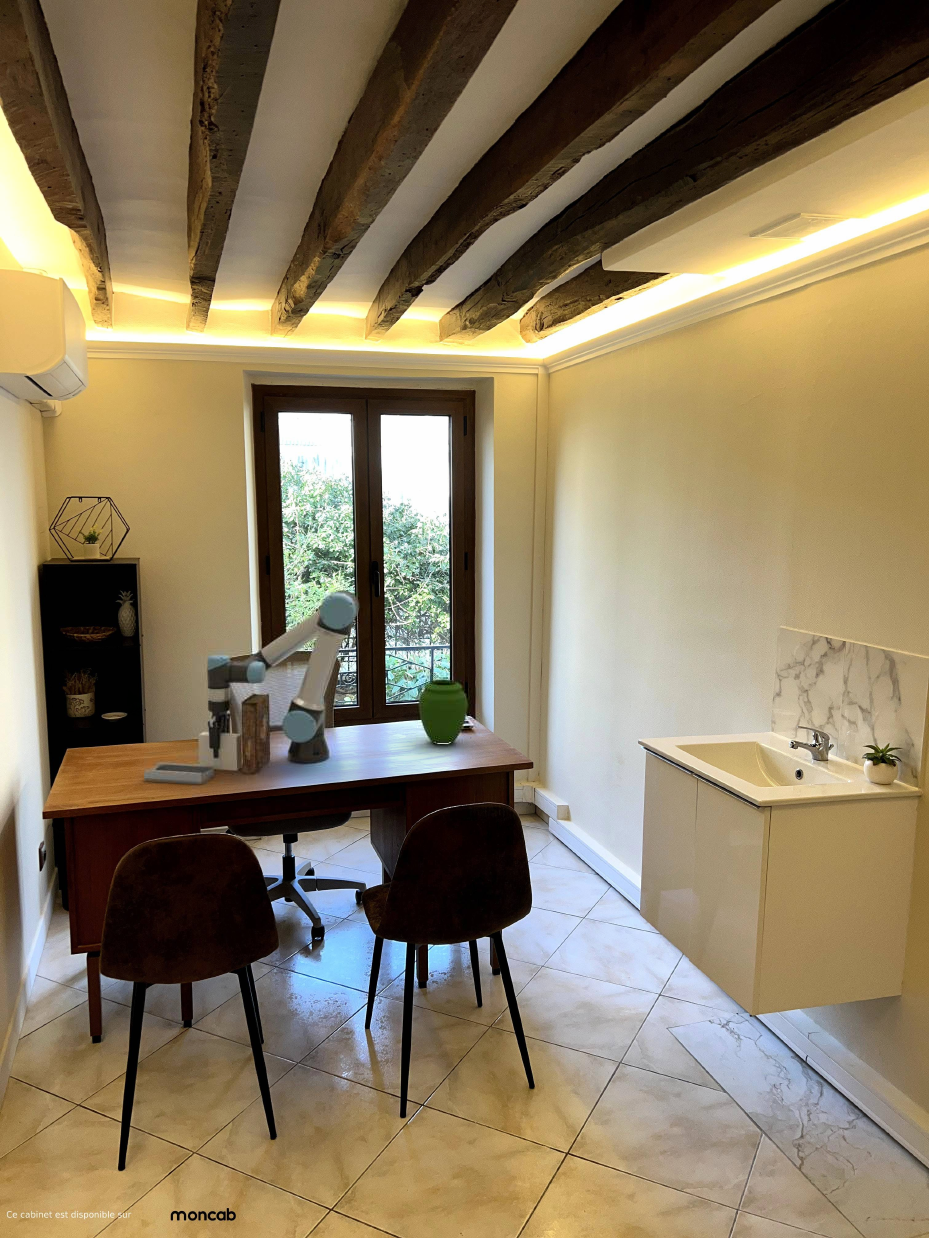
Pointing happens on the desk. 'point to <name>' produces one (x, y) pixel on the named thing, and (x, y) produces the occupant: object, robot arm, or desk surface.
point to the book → (255, 733)
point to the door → (229, 751)
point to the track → (179, 773)
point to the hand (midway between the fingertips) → (220, 764)
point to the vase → (443, 710)
